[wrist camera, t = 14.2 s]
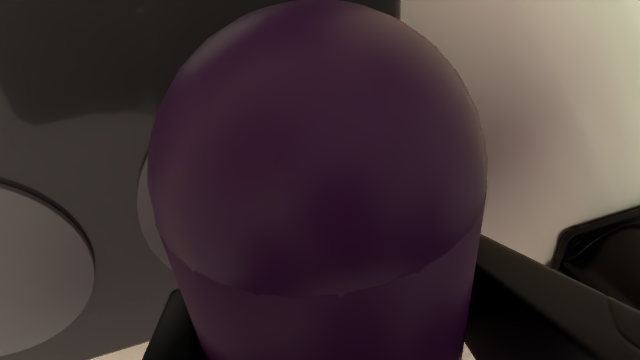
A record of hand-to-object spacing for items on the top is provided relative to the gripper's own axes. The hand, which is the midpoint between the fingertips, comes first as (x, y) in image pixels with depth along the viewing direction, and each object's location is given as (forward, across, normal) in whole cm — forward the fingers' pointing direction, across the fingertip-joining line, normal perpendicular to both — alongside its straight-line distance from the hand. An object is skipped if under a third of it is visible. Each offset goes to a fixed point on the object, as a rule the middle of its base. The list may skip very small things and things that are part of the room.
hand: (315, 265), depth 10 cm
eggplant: (+1, 0, 0) cm, 1 cm away
